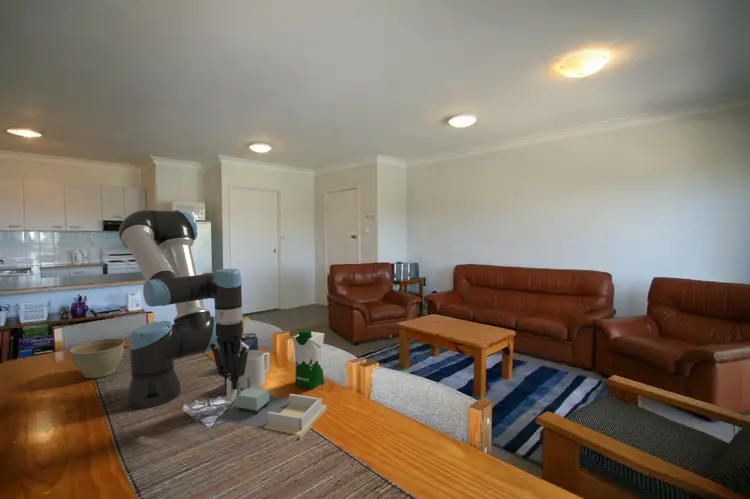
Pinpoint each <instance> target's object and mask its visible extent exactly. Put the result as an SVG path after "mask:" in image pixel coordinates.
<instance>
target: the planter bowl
mask: <svg viewBox="0 0 750 499" xmlns="http://www.w3.org/2000/svg"><path fill="white" fill-rule="evenodd" d="M124 346H125V340H124V339H123V338H122V339H121V338H103V339H98V340H97V339H95V340H92V341H87V342H84V343H80V344H77V345H76V346H73V347H72V348H70V350H69V354H70V355H71V356H70V357H71V361H72V363H73V365H74V367H75V368H76V370H78V371H79V372H80V373H81V374H83V377H84V378H86V379H97V378H103V377H106V376H109V375H111V374H113V373H114V372H116V371H117V366H118V365H119V364H120V362H121V361H122V358H123V357H124V356H123V355H124V352H125V347H124Z"/></svg>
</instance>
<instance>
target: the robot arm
mask: <svg viewBox="0 0 750 499" xmlns="http://www.w3.org/2000/svg"><path fill="white" fill-rule="evenodd" d="M118 229H119V230H118V237H119V240H120V242H121V244H122V246H124V247H125V248H126V249H129V251H130V253H131V255H132V257H133V259H134V260H135V262H136V264H137V266H138V268H139V270H140V272H141V273H142V275H143V278H144V280H145V282H144V284H143V286H142V287H143V289H142V291H143V292H142V295H143V299H144V303H145V304H146V306H149V307H165V306H169V305H175V308H176V313H177V314H176V316H175V317H174V318H173V323H172V322H171V321H169V320H160V321H153V322H150V323H146V324H143V325H141V326H138V327H137V328H135V329H134V330H132V332H131V333H130V335H129V345H128V349H129V355H130V356H129V357H130V373H131V376H130V377H131V379H130V382H129V386H128V389H127V392H126V393H125V394H126V395H125V404H126V405H127V406H128V407H131V408H136V409H139V408H151V407H154V406H159V405H162V404H166V403H168V402H170V401H172V400H174V399H175V398H177V397H178V396H179V395H180V394H181V392H182V385H181V382H180V381H179V378H178V374H177V373H176V371H175V367H174V366H175V365H174V364H175V363H174V361H176V360H180V359H184V358H188V357H191V356H195V355H199V354H204V353H206V352H210V351H212V354H213V357H214V361H215V366H216V370H217V374H218V376H220V377H221V376H222V377H223V379H224V388H225V389H226V398H227V400H226V401H227V402H232V401H234V400H236V394H237V382H238V381H239V379H238V378H239V377H241V376H243V375H244V373H245V367H246V361H247V356H248V352H249V350H250V348H251V346H250V345H246V344H245V343H243V338H242V335H243V332H244V323H243V321H242V319H243V318H244V317H243V300H242V299H243V296H242V295H243V294H242V283H243V280H242V276H241V271H240V270H239V269H238V268H221V269H216V270H214V271H213V272H204V273H201V274H197V270H196V266H195V261H194V257H193V252H192V248H191V247H192V246H194V244H195V240H196V239H197V238H198V226H197V221H196V218H195V217H194V216H193V215H192V214H191V213H189V212H188V211H184V210H175V209H174V210H149V209H143V210H138V211H135V212H133V213H131V214H130V215H128V216H127V217H125V218H124V220H123V221H122V222H121V224H120V226H119V228H118ZM163 252H164V253H163ZM208 299H212V300H213V299H214V300H213V301H214V303H213V304H214V316H213V315H211V312H210V310H209V309H207V308H205V305H204V302H203V300H208ZM239 349H240V350H239Z"/></svg>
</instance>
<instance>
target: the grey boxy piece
mask: <svg viewBox="0 0 750 499" xmlns="http://www.w3.org/2000/svg"><path fill="white" fill-rule="evenodd" d="M246 380H247V388H245V389H242V388H241V383H242V382H244V381H246ZM241 389H242V390H241ZM269 396H270V389H269V388H265V387H260V386H259V387H253V386H251V376H250V375H247V376H246V377H244V378H243V379H241V380H239V381H238V382H237V394H236V399H235V401H236V402H235V404H236V405H235V406H236V407H238V410H239V411H241V410H242V409H243V408H246V409H251V410H254V413H255V414H258V413H259V409H260V408H261V407H262V406H263V405H264V406H268V401H269Z"/></svg>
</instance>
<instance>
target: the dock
mask: <svg viewBox="0 0 750 499" xmlns="http://www.w3.org/2000/svg"><path fill="white" fill-rule="evenodd" d="M322 399H323V398H322V397H321V398H320V397H314V396H307V395H301V394H294V393H289V395H288V398H285V397H278V396H270V395H269V401H268V406H264V405H263V406H262V407H261V408H260V409H259V413H258V414H255V413H254V410H251V409H246V408H243V409H242V410H241V411H239V410H238V407H236V405H235V406H233V407H232V408H231V409H229V410H228V411H226V412H225V413H223V414H222V415H221V416H220V417H218V418H217V420H219V421H225V422H229V423H235V424H241V425H245V426H250V427H251V426H252V427H256V428H261V429H266V430H271V431H277V432H282V433H288V434H292V435H298V437H297V438H296V440H301V439H302V438H303V437H304V436H305V434H307V432H308V431H309V430H310V429H311V428H312V427H313V426H314V424H315V423H316V422H317V421H318V420H319V418H320V417H322V416H323V414H324V413H325V412H327V410H328V405H327V404H323V403H322V402H323V401H322Z"/></svg>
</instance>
